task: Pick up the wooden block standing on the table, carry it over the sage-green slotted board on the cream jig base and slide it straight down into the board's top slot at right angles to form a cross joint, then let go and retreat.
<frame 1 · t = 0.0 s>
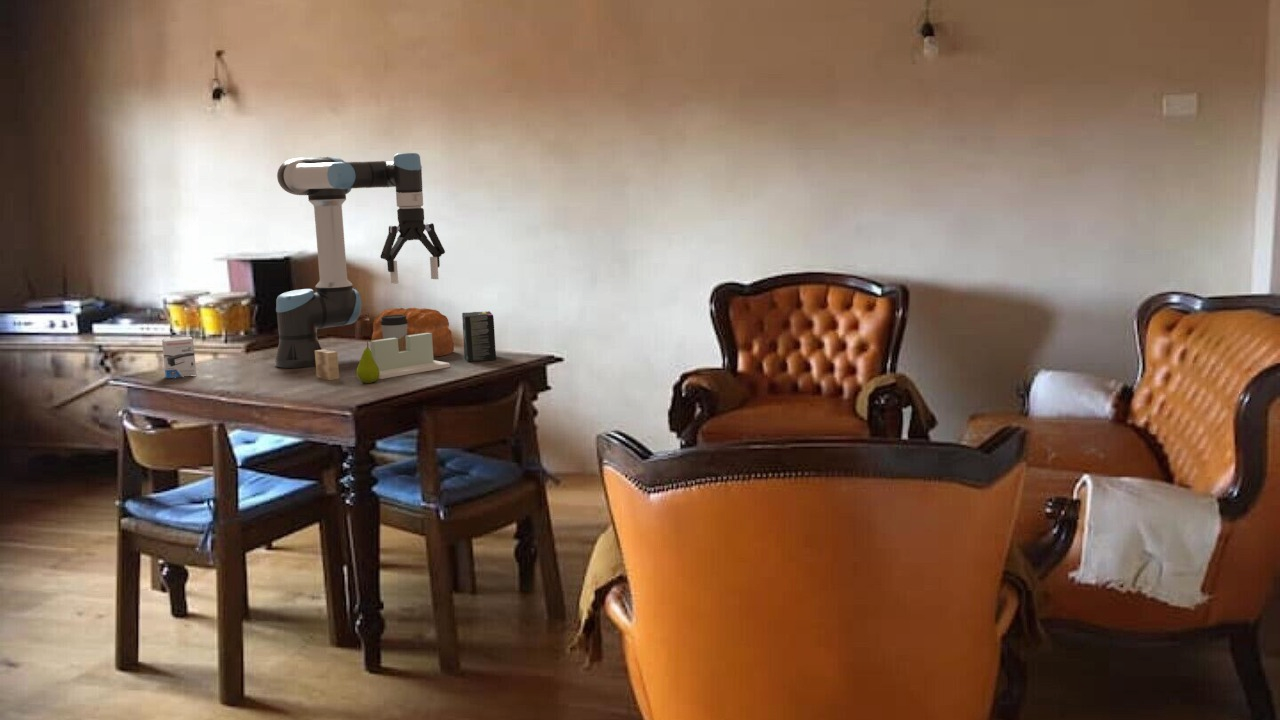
hand: (415, 281, 320), 28 cm above the table, fingers open, 13 cm apart
wooden block: (327, 377, 326), on the table
bread: (413, 354, 366), on the table
coffee cup: (397, 364, 347), on the table
ink box: (181, 377, 335), on the table
slotted board: (403, 370, 335), on the table
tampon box: (480, 359, 352), on the table
fruit: (369, 383, 317), on the table
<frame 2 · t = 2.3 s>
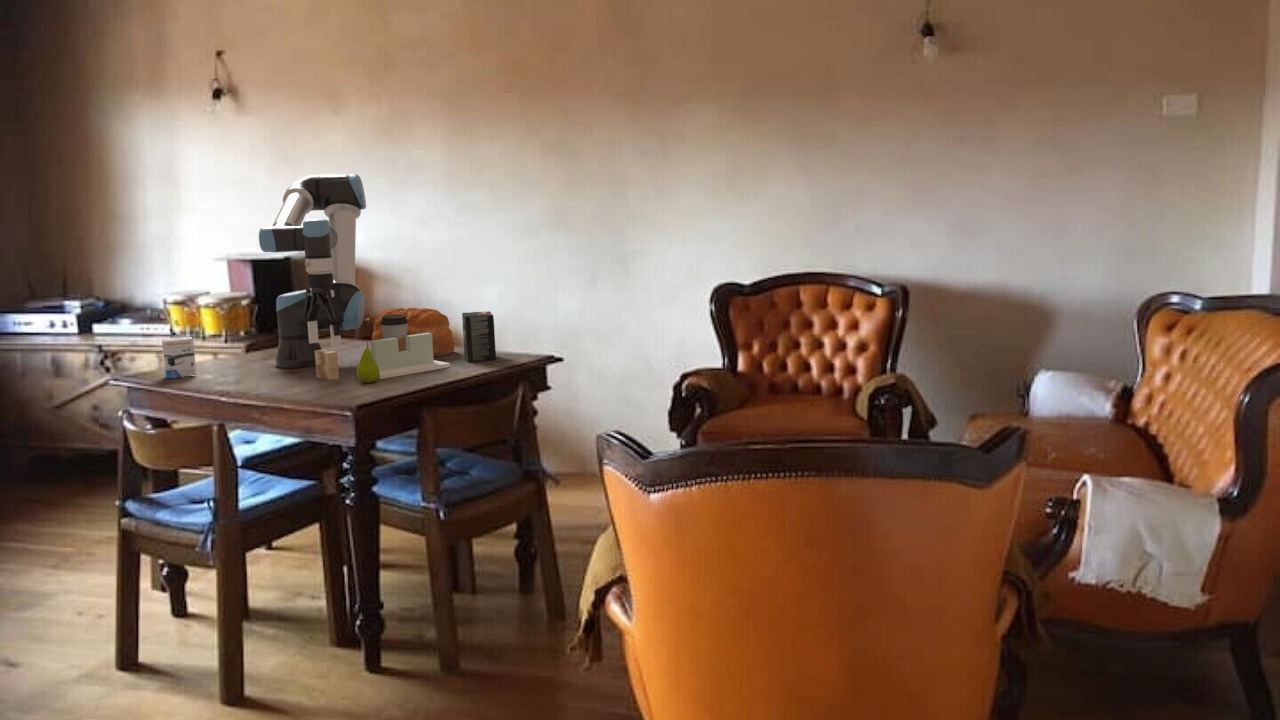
hand: (325, 344, 324), 10 cm above the table, fingers open, 13 cm apart
nothing on the table moved.
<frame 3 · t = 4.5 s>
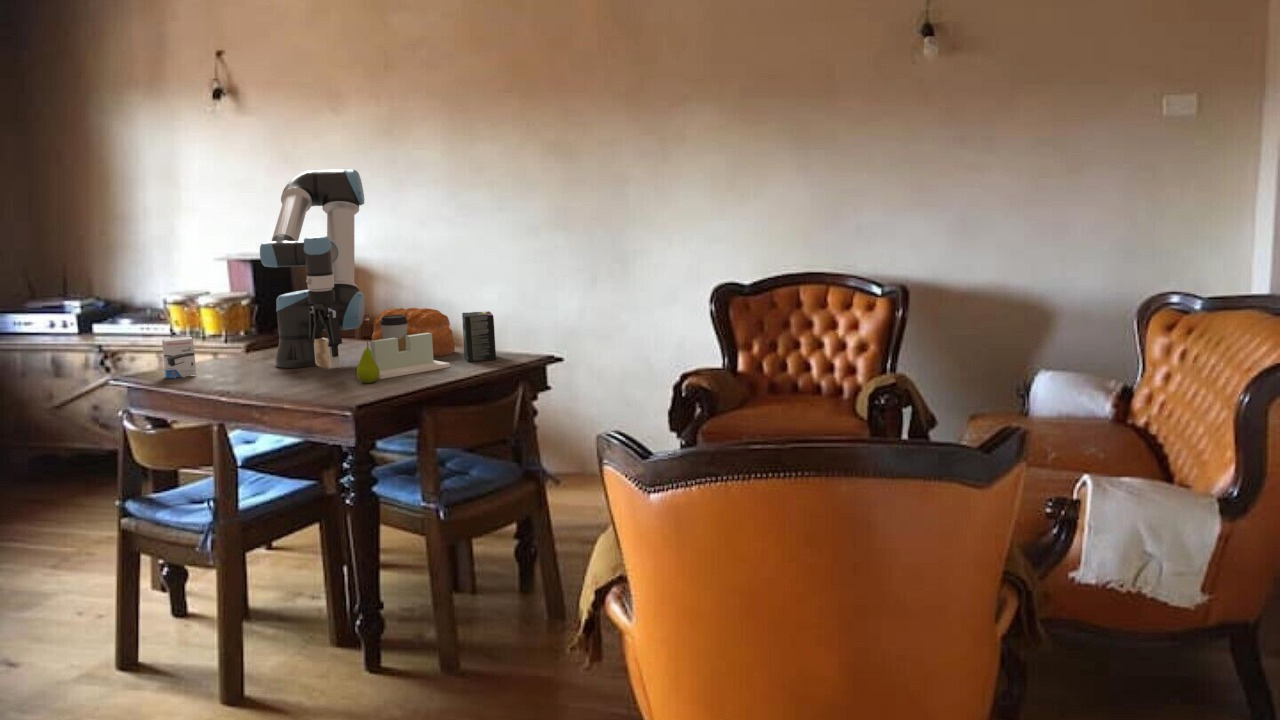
hand: (327, 365, 326), 4 cm above the table, fingers closed on wooden block, 8 cm apart
wooden block: (327, 366, 327), point 3 cm above the table, touching gripper
everything else where it was.
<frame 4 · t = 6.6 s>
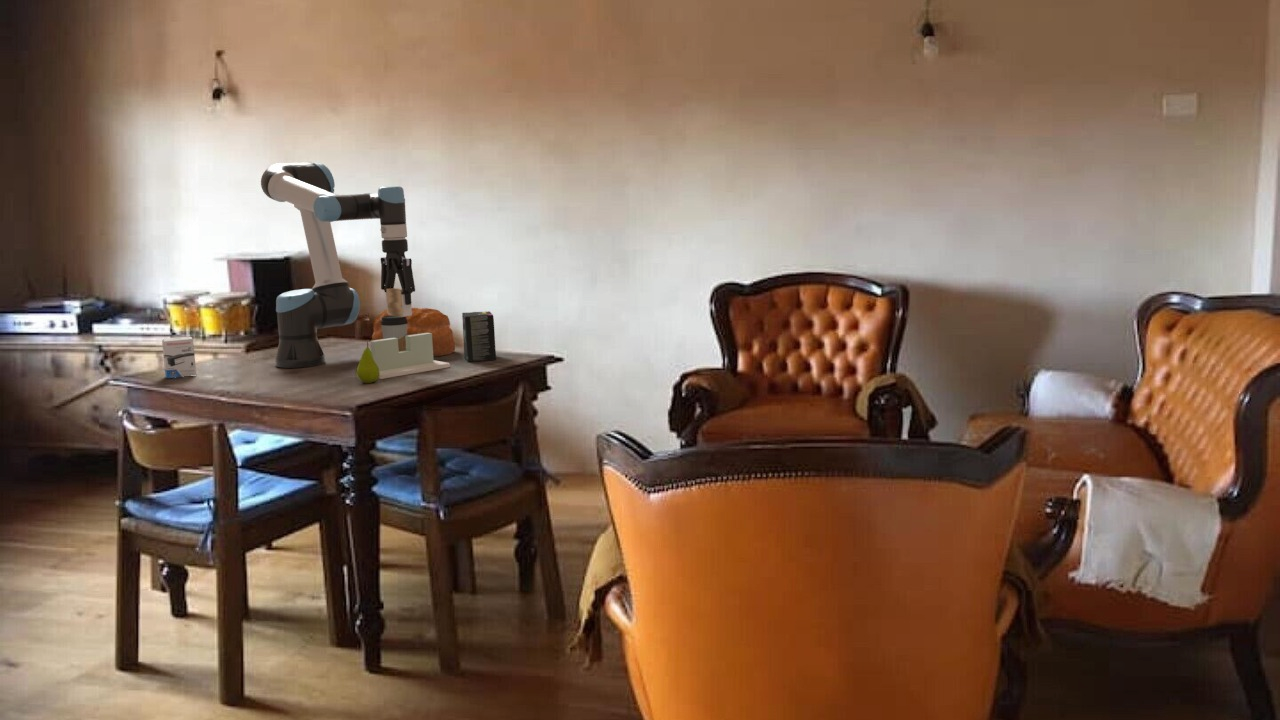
hand: (399, 314, 332), 17 cm above the table, fingers closed on wooden block, 8 cm apart
wooden block: (399, 315, 332), point 17 cm above the table, touching gripper
everything else where it was.
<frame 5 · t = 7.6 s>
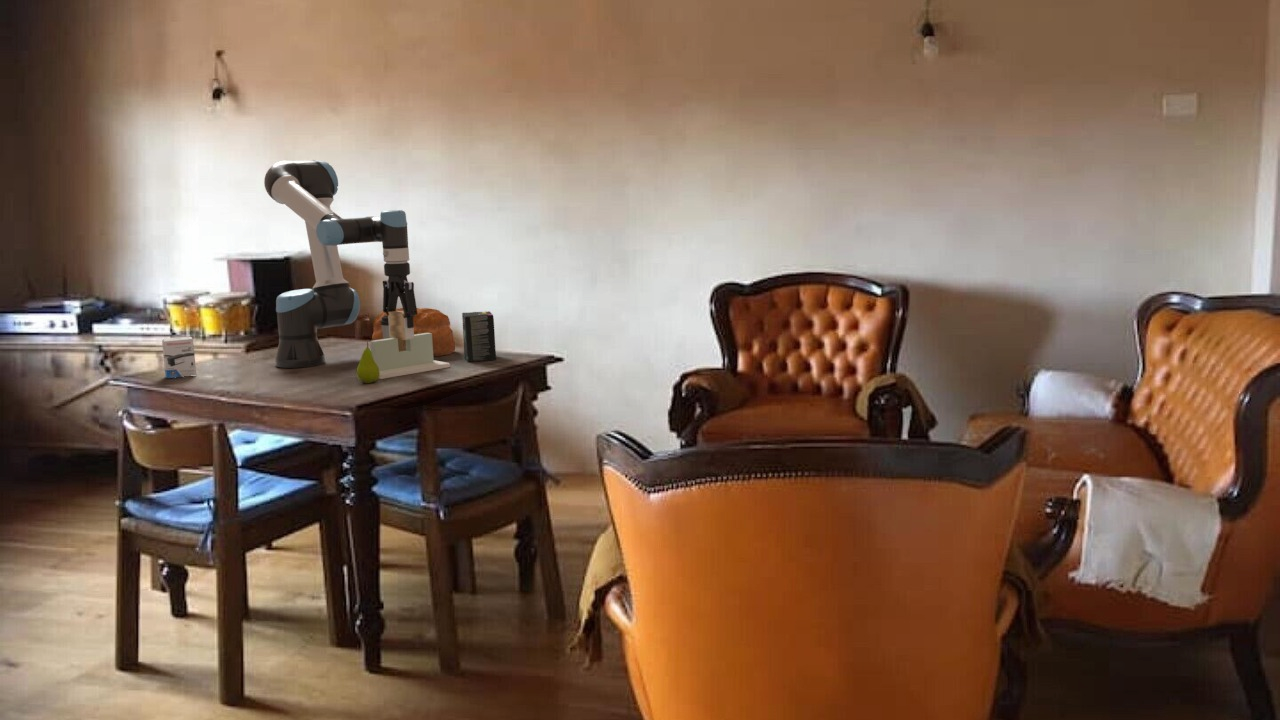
hand: (401, 337, 333), 10 cm above the table, fingers closed on wooden block, 8 cm apart
wooden block: (401, 338, 333), point 10 cm above the table, touching gripper
everything else where it was.
when the fingers open (7 cm above the table, at t = 8.6 s): wooden block stays where it is, resting on slotted board.
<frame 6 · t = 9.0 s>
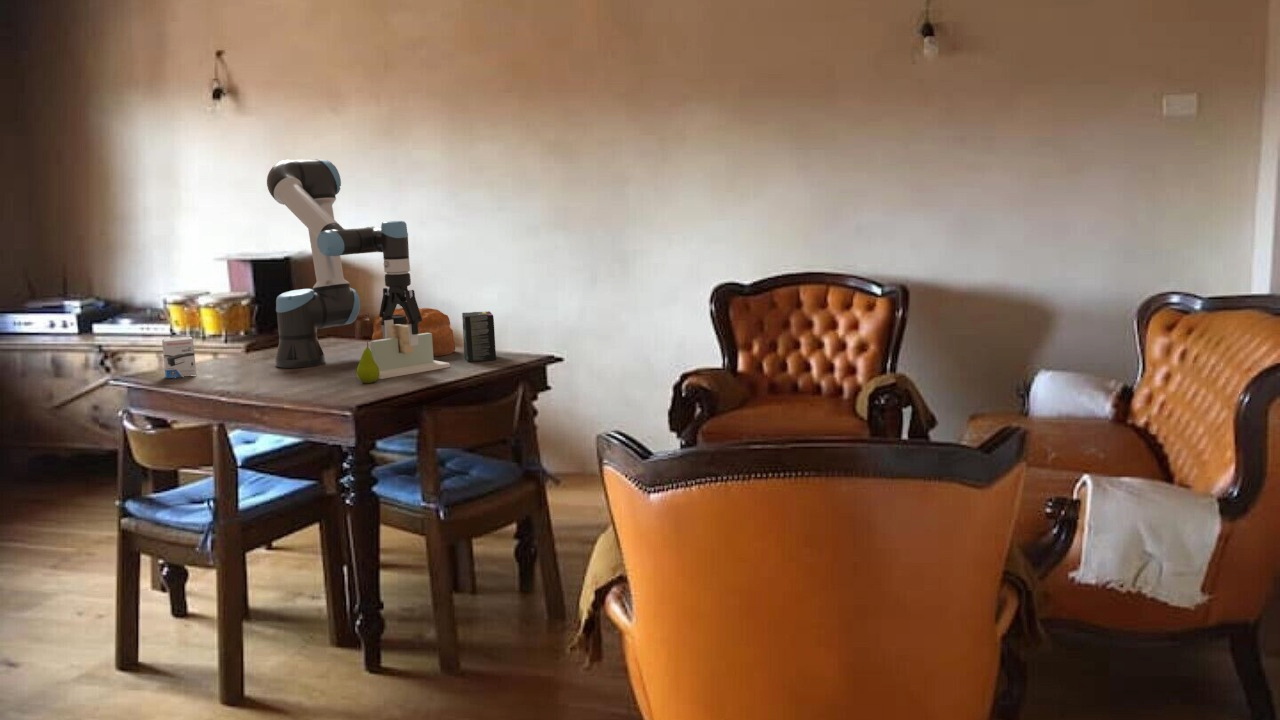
hand: (402, 343, 333), 8 cm above the table, fingers open, 13 cm apart
wooden block: (402, 351, 334), point 6 cm above the table, touching slotted board
everything else where it was.
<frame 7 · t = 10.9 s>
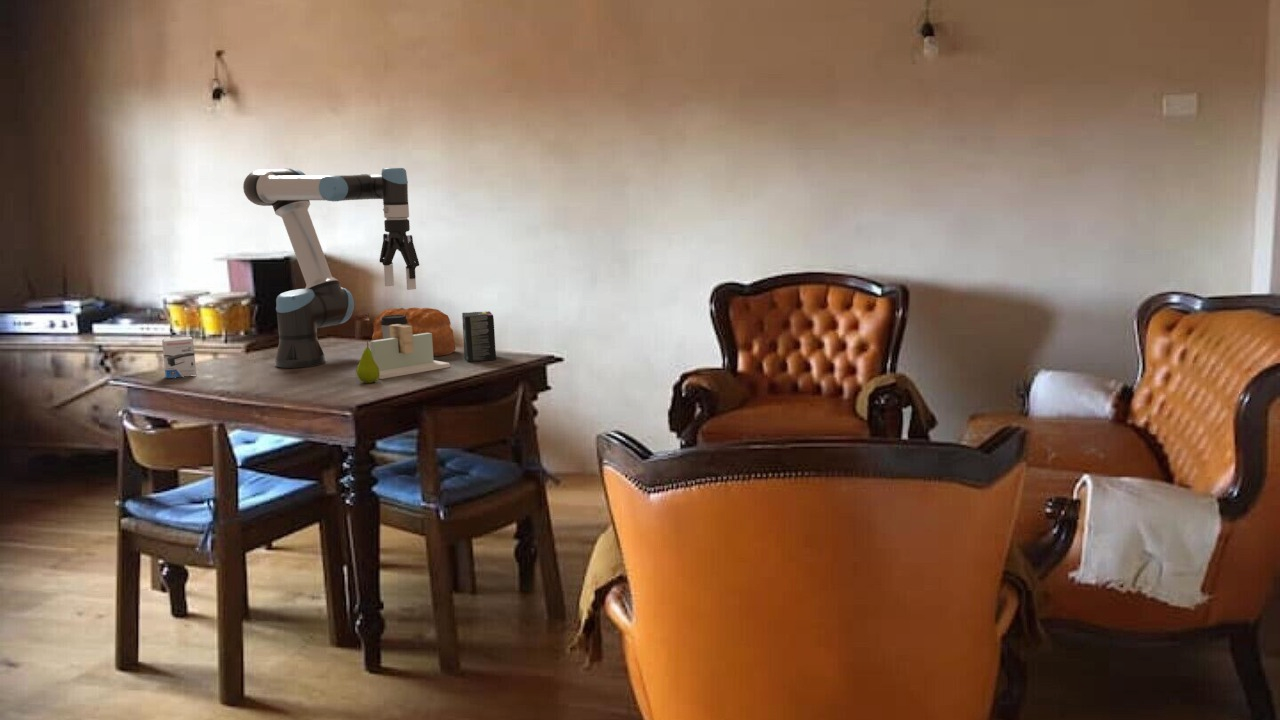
hand: (400, 287, 341), 24 cm above the table, fingers open, 13 cm apart
nothing on the table moved.
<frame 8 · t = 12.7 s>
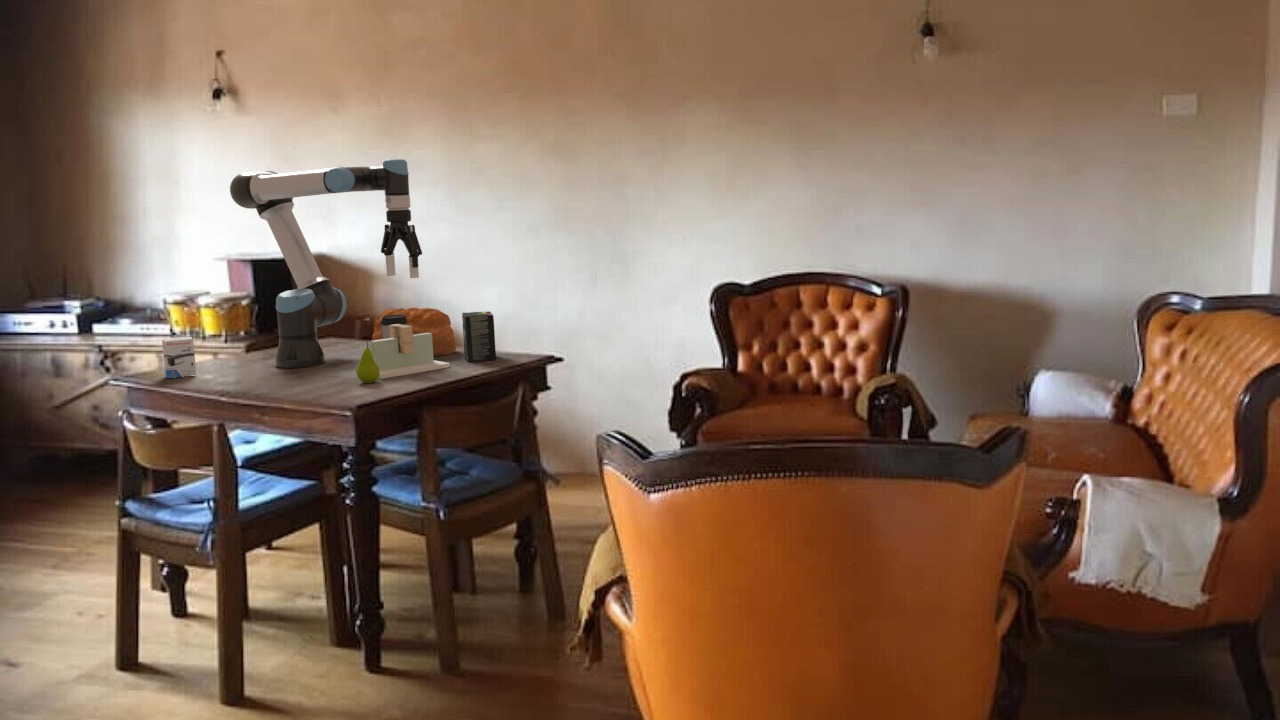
hand: (402, 276, 348), 27 cm above the table, fingers open, 13 cm apart
at the end: wooden block 0.0 cm off-centre on the slotted board, point 5.7 cm above the slotted board's base; wooden block tilted 0°; the gripper is holding nothing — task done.
